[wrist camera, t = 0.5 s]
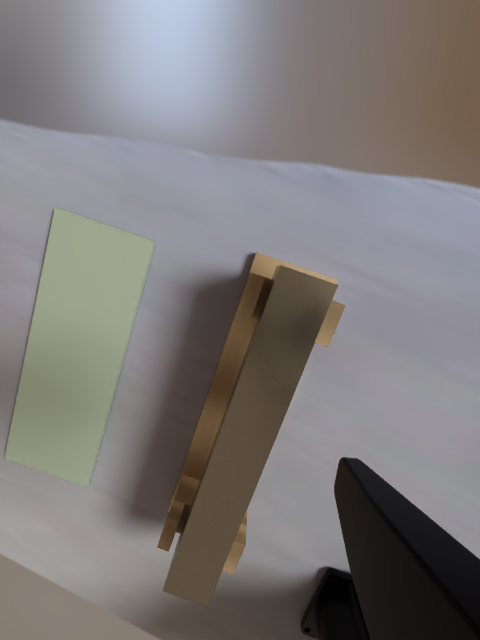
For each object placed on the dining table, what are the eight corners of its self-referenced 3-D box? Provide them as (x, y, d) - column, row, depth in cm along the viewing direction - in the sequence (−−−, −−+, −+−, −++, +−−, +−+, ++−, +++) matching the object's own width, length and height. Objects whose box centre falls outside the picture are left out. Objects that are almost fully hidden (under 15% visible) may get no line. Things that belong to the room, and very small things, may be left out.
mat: (89, 483, 23) (87, 487, 22) (8, 455, 23) (4, 458, 22) (155, 241, 19) (153, 241, 19) (59, 208, 19) (54, 207, 19)
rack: (235, 529, 23) (229, 590, 18) (169, 506, 23) (148, 561, 18) (335, 280, 19) (359, 282, 14) (256, 252, 19) (255, 247, 14)
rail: (215, 556, 20) (207, 606, 17) (177, 542, 20) (162, 590, 17) (323, 282, 16) (338, 284, 13) (276, 266, 16) (280, 264, 13)
